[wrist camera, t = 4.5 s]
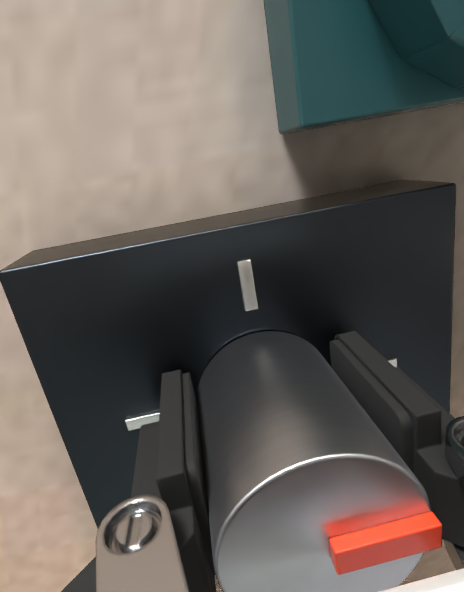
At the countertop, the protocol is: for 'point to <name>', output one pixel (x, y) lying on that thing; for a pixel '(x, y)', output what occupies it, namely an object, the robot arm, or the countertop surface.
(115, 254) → the control panel
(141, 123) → the countertop surface
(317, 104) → the button block
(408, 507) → the dial
